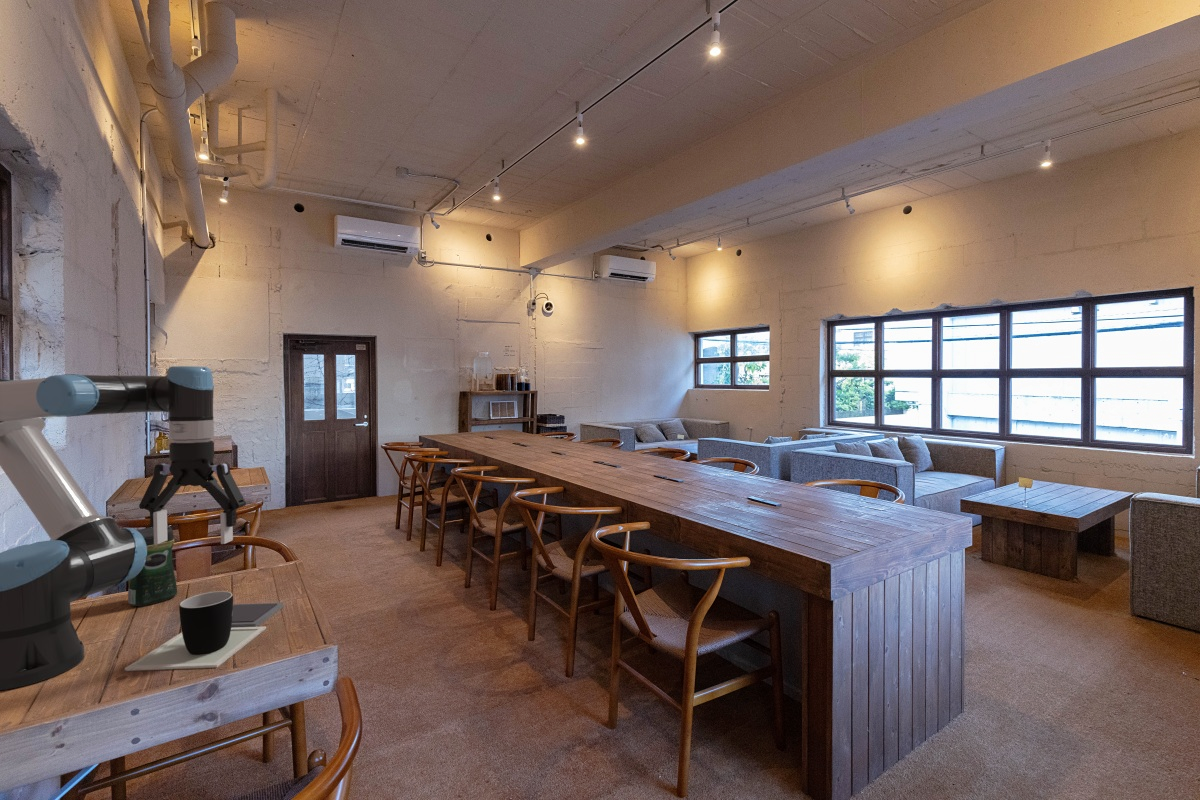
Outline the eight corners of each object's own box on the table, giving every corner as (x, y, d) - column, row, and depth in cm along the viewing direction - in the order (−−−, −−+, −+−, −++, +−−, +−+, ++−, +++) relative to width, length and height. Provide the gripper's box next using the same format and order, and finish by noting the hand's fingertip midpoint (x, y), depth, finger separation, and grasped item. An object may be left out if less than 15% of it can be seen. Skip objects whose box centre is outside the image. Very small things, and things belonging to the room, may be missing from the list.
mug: (243, 643, 116) (241, 595, 116) (194, 662, 108) (193, 611, 108) (212, 631, 122) (211, 585, 121) (164, 648, 114) (163, 600, 114)
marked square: (124, 670, 106) (124, 668, 106) (186, 631, 123) (186, 629, 123) (217, 667, 106) (216, 665, 106) (266, 628, 123) (266, 626, 123)
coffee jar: (170, 591, 147) (168, 521, 147) (181, 597, 142) (178, 525, 142) (123, 602, 140) (121, 529, 139) (132, 610, 135) (130, 534, 134)
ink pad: (200, 629, 123) (200, 624, 123) (233, 608, 135) (233, 603, 135) (255, 628, 124) (255, 622, 124) (283, 606, 136) (283, 601, 136)
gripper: (115, 442, 111) (117, 547, 112) (241, 442, 112) (243, 547, 112) (145, 438, 119) (147, 537, 119) (263, 438, 119) (264, 536, 120)
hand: (193, 542), depth 116 cm, fingers open, 13 cm apart
